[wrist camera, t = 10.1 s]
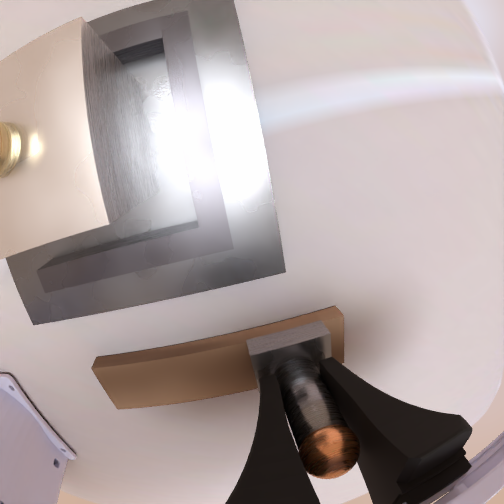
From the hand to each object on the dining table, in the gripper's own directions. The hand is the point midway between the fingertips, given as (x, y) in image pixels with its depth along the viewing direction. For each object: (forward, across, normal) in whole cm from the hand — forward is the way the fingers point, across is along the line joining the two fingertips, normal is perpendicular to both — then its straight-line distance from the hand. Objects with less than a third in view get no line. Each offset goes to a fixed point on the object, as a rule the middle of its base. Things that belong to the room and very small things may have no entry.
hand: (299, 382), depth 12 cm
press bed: (+3, +6, -11) cm, 13 cm away
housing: (+2, +6, -11) cm, 13 cm away
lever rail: (+3, +4, 0) cm, 5 cm away
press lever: (+2, 0, 0) cm, 2 cm away
